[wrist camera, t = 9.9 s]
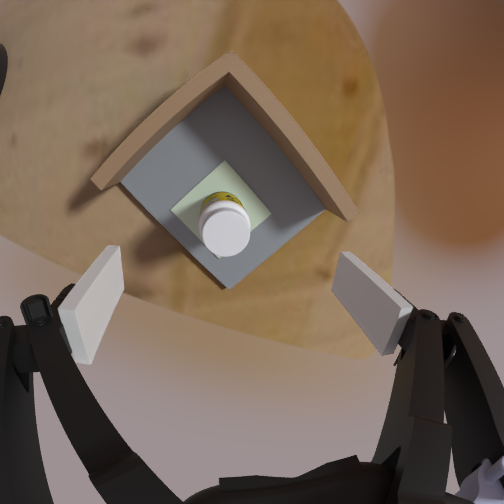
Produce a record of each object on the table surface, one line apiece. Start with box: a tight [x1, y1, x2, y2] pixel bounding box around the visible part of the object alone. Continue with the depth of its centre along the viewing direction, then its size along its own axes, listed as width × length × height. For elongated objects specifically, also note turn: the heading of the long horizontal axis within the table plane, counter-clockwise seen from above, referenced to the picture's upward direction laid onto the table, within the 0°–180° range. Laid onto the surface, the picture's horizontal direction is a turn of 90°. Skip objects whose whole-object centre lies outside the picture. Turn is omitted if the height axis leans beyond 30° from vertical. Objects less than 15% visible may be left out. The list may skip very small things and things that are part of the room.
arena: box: [91, 50, 360, 290], centre depth 27 cm, size 20×17×7 cm
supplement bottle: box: [198, 191, 251, 257], centre depth 26 cm, size 5×5×8 cm
